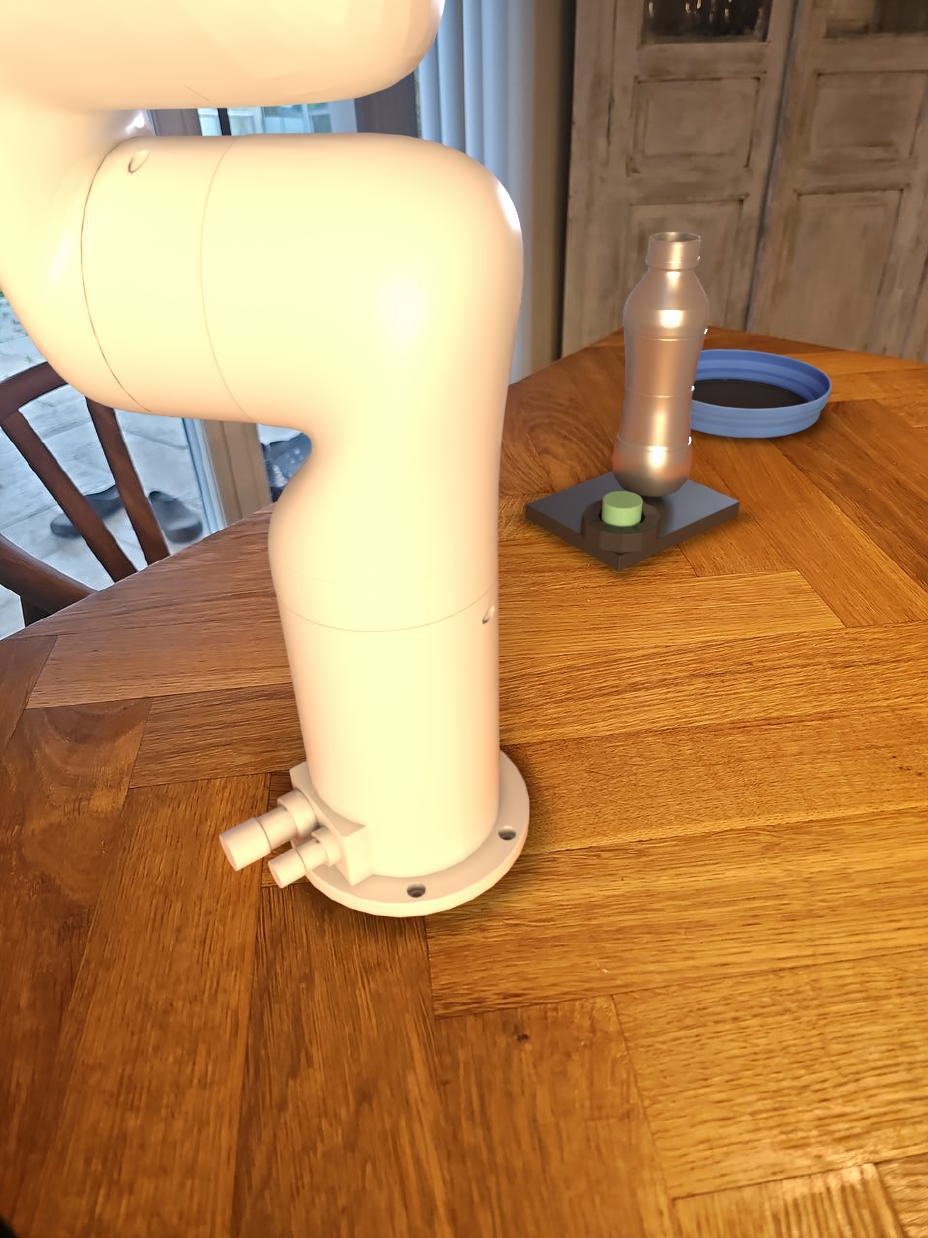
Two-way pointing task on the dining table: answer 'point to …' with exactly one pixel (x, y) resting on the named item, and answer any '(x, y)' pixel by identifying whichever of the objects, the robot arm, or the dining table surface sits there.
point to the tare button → (622, 509)
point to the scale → (621, 547)
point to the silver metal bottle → (661, 368)
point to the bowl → (756, 394)
